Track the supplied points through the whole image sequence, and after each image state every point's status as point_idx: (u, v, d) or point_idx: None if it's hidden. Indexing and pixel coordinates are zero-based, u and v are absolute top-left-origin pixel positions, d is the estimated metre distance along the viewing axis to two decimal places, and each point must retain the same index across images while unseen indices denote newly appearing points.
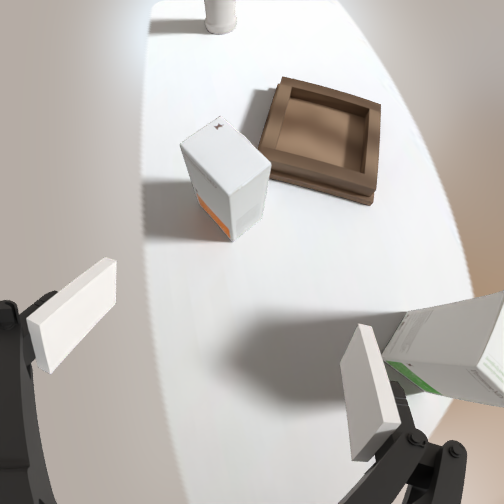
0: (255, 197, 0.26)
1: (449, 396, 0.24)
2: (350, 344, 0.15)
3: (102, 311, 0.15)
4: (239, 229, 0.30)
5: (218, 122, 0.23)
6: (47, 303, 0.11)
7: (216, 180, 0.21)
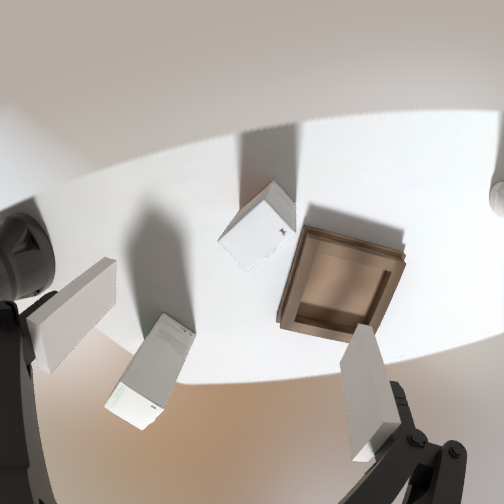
0: None
1: None
2: (350, 344, 0.15)
3: (102, 310, 0.15)
4: None
5: (287, 231, 0.27)
6: (47, 303, 0.11)
7: (229, 232, 0.28)
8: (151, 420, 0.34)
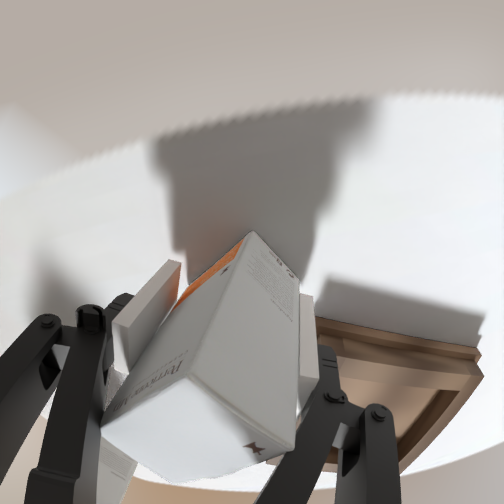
0: None
1: None
2: None
3: (168, 311, 0.17)
4: None
5: (269, 449, 0.08)
6: (128, 305, 0.12)
7: (112, 424, 0.08)
8: None
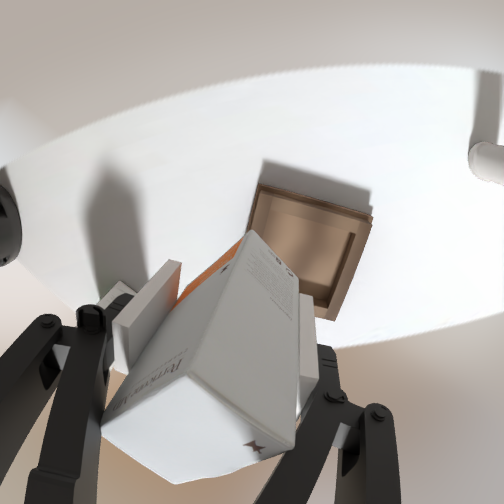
0: None
1: None
2: None
3: (168, 311, 0.17)
4: None
5: (269, 447, 0.08)
6: (129, 306, 0.12)
7: (112, 423, 0.08)
8: None
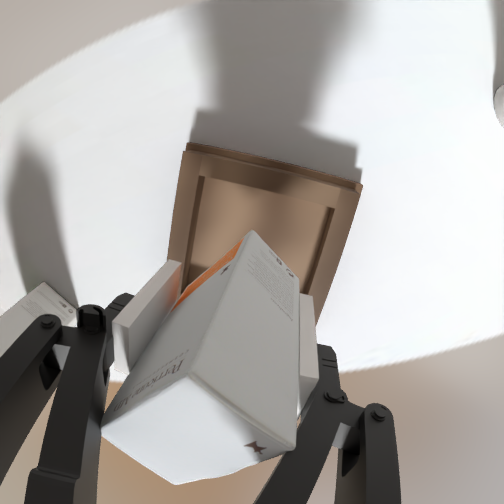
0: None
1: None
2: None
3: (168, 311, 0.17)
4: None
5: (269, 448, 0.08)
6: (129, 305, 0.12)
7: (113, 424, 0.08)
8: None
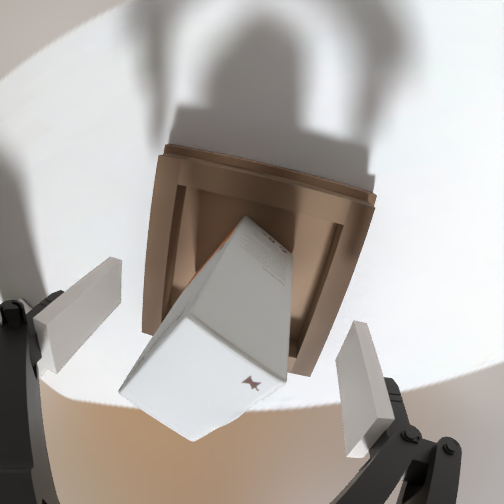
0: None
1: None
2: (345, 341, 0.16)
3: (108, 310, 0.15)
4: None
5: (264, 382, 0.10)
6: (54, 303, 0.11)
7: (132, 380, 0.11)
8: None
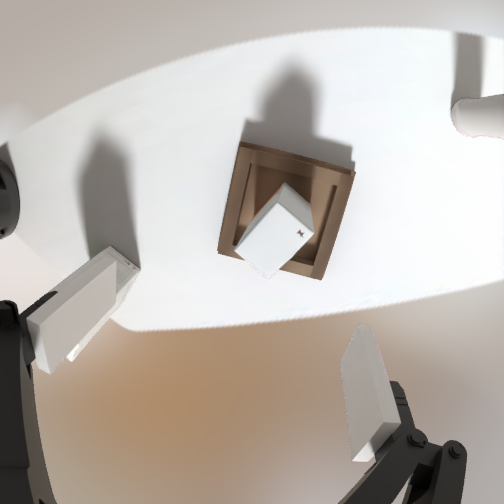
0: None
1: None
2: (350, 344, 0.15)
3: (103, 310, 0.15)
4: None
5: (305, 232, 0.26)
6: (47, 303, 0.11)
7: (245, 240, 0.27)
8: (76, 345, 0.32)
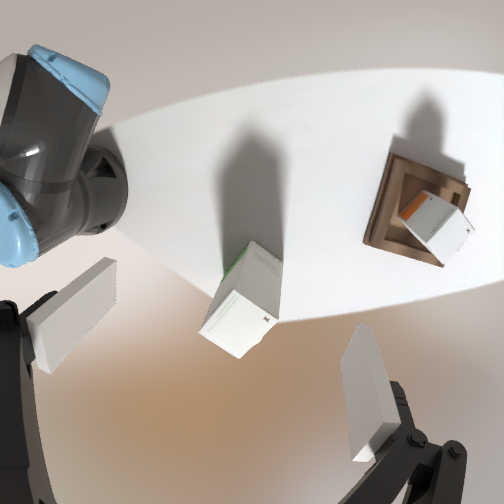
0: (425, 246, 0.36)
1: (217, 289, 0.46)
2: (350, 344, 0.15)
3: (102, 310, 0.15)
4: None
5: (470, 230, 0.30)
6: (47, 303, 0.11)
7: (435, 235, 0.31)
8: (257, 340, 0.36)
